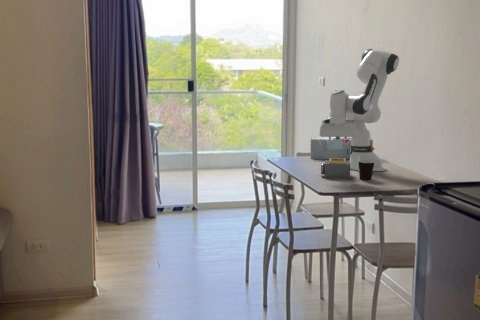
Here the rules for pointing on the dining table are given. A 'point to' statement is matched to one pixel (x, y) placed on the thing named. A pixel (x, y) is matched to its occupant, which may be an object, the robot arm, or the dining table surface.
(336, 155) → the soda pack
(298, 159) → the dining table surface
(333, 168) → the dark grey toaster
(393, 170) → the dining table surface
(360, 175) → the coffee mug
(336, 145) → the light blue block
